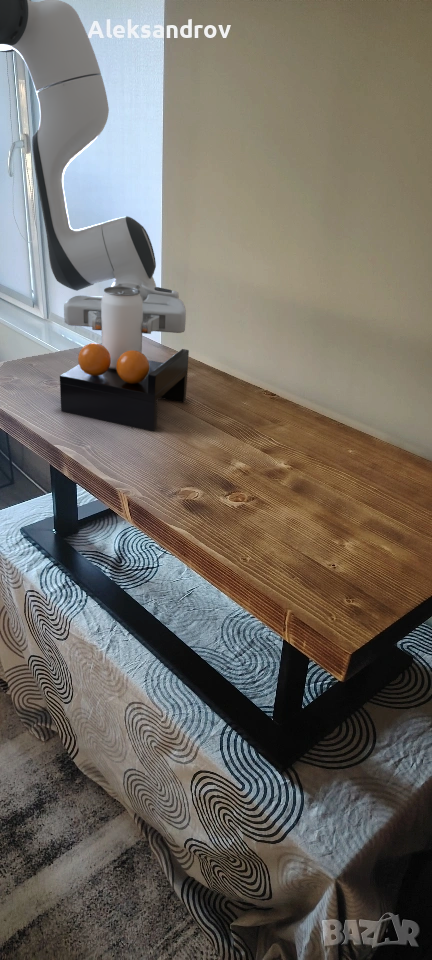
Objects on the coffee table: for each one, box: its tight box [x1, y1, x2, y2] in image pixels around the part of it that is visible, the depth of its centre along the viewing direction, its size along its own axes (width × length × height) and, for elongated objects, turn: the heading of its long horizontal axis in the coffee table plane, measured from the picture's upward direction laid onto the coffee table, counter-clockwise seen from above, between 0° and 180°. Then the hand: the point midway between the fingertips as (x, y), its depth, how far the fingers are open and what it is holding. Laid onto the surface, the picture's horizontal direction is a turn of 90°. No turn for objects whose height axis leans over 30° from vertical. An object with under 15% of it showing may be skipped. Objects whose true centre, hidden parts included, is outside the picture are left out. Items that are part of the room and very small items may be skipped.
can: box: [101, 286, 143, 370], centre depth 100 cm, size 6×6×12 cm
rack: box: [59, 342, 190, 432], centre depth 101 cm, size 16×14×11 cm
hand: (121, 327), depth 99 cm, fingers closed on can, 6 cm apart
